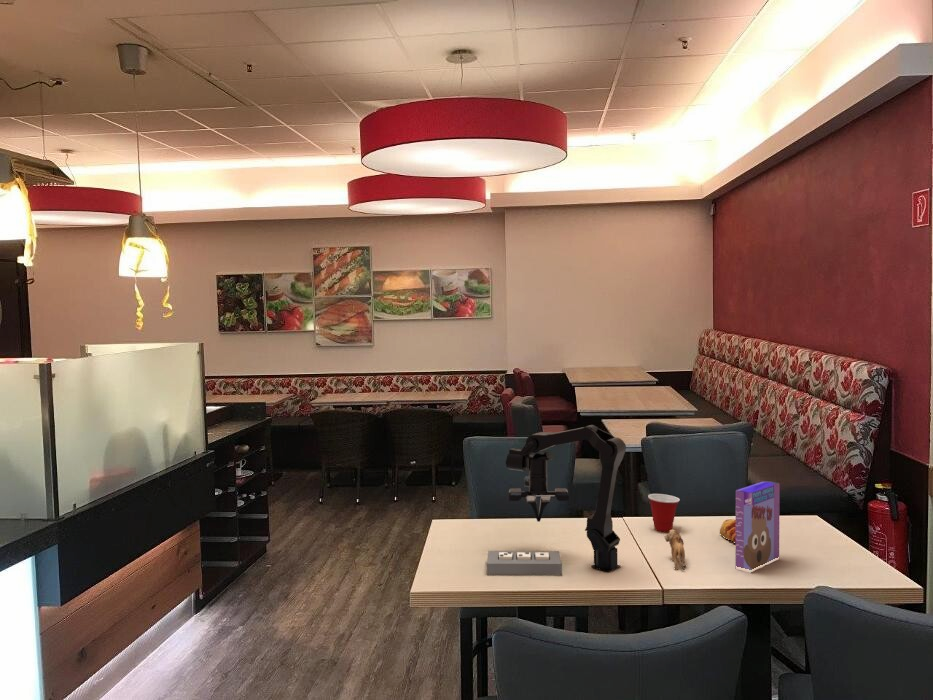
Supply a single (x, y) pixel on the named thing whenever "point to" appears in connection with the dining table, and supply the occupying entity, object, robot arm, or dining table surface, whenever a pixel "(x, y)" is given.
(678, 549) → the lion figurine
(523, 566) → the tile board
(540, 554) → the tile one
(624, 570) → the dining table surface
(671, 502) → the plastic cup
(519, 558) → the tile two
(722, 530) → the croissant
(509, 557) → the tile three
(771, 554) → the cereal box
